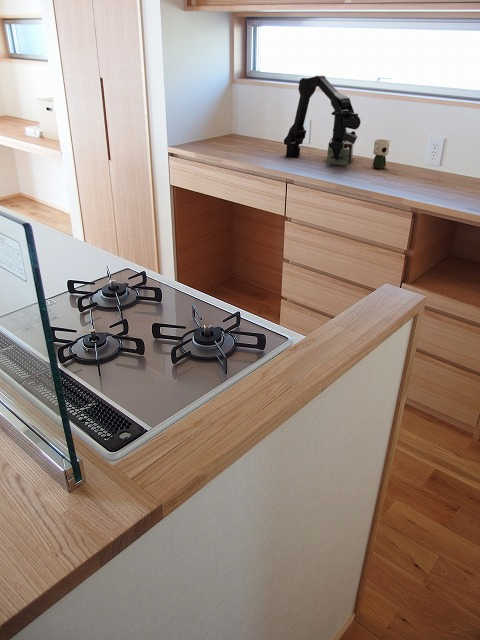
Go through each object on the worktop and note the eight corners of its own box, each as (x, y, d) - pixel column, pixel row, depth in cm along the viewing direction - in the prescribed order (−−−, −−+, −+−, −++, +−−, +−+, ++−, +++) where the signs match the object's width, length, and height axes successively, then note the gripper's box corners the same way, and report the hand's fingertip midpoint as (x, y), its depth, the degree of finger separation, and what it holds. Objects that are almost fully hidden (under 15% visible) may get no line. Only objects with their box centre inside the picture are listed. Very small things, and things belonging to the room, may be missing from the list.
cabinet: (350, 163, 272) (352, 144, 268) (327, 162, 275) (328, 142, 270) (352, 157, 284) (354, 139, 279) (329, 156, 286) (331, 137, 282)
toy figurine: (378, 171, 260) (381, 143, 253) (365, 168, 264) (369, 141, 258) (391, 167, 266) (395, 140, 260) (379, 165, 271) (382, 138, 264)
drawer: (347, 167, 262) (348, 151, 258) (325, 166, 264) (326, 149, 260) (349, 159, 276) (351, 144, 272) (329, 158, 278) (330, 142, 275)
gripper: (355, 130, 243) (352, 165, 251) (358, 123, 259) (354, 157, 267) (330, 129, 246) (327, 164, 253) (335, 122, 261) (332, 155, 269)
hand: (336, 160), depth 260 cm, fingers closed
